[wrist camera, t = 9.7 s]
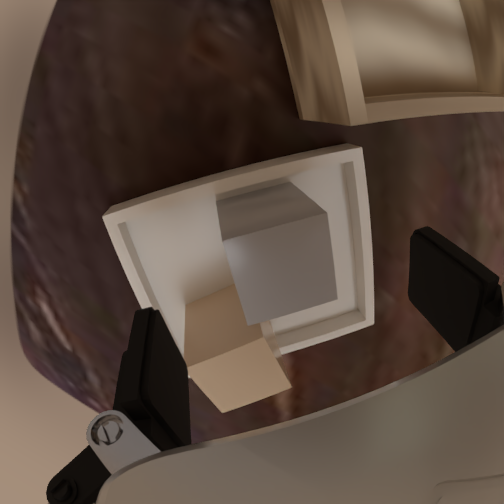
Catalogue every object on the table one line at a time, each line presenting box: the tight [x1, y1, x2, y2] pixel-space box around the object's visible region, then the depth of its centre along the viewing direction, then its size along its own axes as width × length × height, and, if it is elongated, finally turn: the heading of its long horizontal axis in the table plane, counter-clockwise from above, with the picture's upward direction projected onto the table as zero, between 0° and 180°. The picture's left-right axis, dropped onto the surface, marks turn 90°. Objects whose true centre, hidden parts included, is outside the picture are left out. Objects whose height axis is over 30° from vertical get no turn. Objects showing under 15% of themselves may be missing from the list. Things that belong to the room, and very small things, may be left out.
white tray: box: [102, 143, 374, 378], centre depth 20 cm, size 13×15×2 cm
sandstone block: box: [184, 284, 292, 413], centre depth 19 cm, size 4×4×6 cm
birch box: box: [270, 0, 504, 126], centre depth 12 cm, size 13×16×7 cm
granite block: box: [216, 182, 338, 326], centre depth 17 cm, size 4×4×6 cm
